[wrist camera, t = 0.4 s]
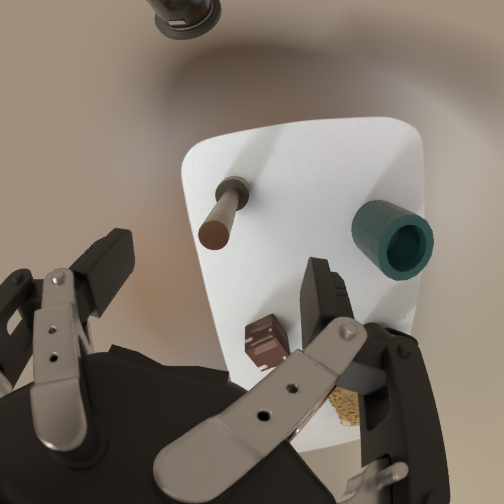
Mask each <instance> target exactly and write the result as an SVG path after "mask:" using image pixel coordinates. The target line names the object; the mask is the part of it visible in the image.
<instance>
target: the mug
mask: <svg viewBox="0 0 504 504" xmlns="http://www.w3.org/2000/svg"><path fill="white" fill-rule="evenodd" d="M364 328H365V329H366V332H367V336H368V337H370V338H373V339H376V340H379V341H382V342H385V343H388V341H389V340H390V339H391V338H392V337H393V336H392V335H395V336H397V335H401V336H405V337H408V338H410V339H411V340H413V341H414V342H415V343H416V344H417V345H418V342H417V340H416V339H415V338H414V337H412V336H410V335H408V334H405V333H403V332H400V331H398V330H395V329H392V328H382V327H380V326H379V325H378V324H376V323H368V324H365V325H364Z"/></svg>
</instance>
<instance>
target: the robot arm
mask: <svg viewBox="0 0 504 504" xmlns="http://www.w3.org/2000/svg"><path fill="white" fill-rule="evenodd" d="M146 1H147V2H148V3H149V5H150V6H151V7H152V8H153V10H154V11H155V12H156V14H157V15H158V16H159V18H160V19H161V21H162V23H163V24H164V25H165V26H166V27H167V28H169V29H171V30H174V31H187V30H191V29H194V28H197V27H199V26H200V25H202V24H203V23H205V22H206V21H207V20H208V19H209V18H210V16H211V14H212V12H213V3H212V0H146ZM134 265H135V256H134V247H133V239H132V233H131V231H130V230H127V229H119V228H115V229H113V230H112V231H111V232H110V233H109V234H108V235H107V236H106V237H103V238H101V239H99V240H97V241H96V242H94V243H93V244H92V245H91V246H90V247H89V249H87V250H86V251H85V253H84V254H82V255H81V256H80V257H79V258H78V259H77V260H76V261H75V262H74V263H73V264H72V265H71V267H69V268H68V269H67V268H59V269H56V270H53V271H51V272H50V273H48V274H47V275H46V277H45V278H44V279H33V277H32V274H31V272H30V270H28V269H19V270H16V271H14V272H13V273H11V274H10V275H9V276H8V277H7V278H6V279H5V281H4V282H3V283H2V284H1V285H0V504H449V502H450V486H449V475H448V467H447V460H446V453H445V447H444V442H443V436H442V431H441V426H440V421H439V417H438V412H437V408H436V404H435V399H434V396H433V392H432V388H431V384H430V381H429V377H428V374H427V371H426V367H425V364H424V361H423V358H422V354H421V351H420V349H419V347H418V345H417V344H416V343H415V342H414V341H413V340H411V339H410V338H408V337H405V336H401V335H397V336H393V337H392V338H391V339H390V340H389V341H388V343H385V342H382V341H379V340H376V339H373V338H370V337H368V336H367V332H366V329H365V328H364V326H363V325H362V324H361V323H359V322H358V321H356V320H355V319H354V315H353V311H352V308H351V304H350V300H349V297H348V293H347V290H346V286H345V283H344V280H343V279H342V278H341V276H340V275H339V274H338V273H337V272H330V268H329V264H328V260H327V259H321V258H314V257H310V258H309V260H308V264H307V268H306V271H305V275H304V279H303V282H302V286H301V291H300V312H301V329H302V348H303V351H301V350H300V349H297V350H295V351H294V352H292V353H291V354H290V355H289V356H288V357H287V358H286V359H285V360H284V361H283V362H281V363H280V364H279V365H278V366H277V367H276V368H275V369H274V370H272V371H271V372H270V373H269V374H268V375H267V376H266V377H264V378H263V379H262V380H261V381H260V382H259V383H257V384H256V385H255V386H254V387H253V388H251V389H250V390H249V391H247V390H245V389H244V388H242V387H241V386H239V385H237V384H235V383H233V382H231V381H228V379H229V372H228V371H222V370H216V369H210V368H205V367H200V366H164V365H162V364H160V363H158V362H156V361H154V360H152V359H150V358H148V357H146V356H145V355H143V354H141V353H139V352H137V351H133V350H129V349H126V348H122V347H120V346H116V345H113V344H112V346H111V348H110V349H109V351H108V352H99V353H95V352H94V347H93V342H92V337H91V331H90V325H89V321H88V317H89V316H90V315H91V316H94V317H98V318H100V317H101V316H102V314H103V313H104V311H105V310H106V308H107V307H108V305H109V304H110V302H111V301H112V299H113V298H114V297H115V295H116V294H117V292H118V291H119V289H120V288H121V286H122V285H123V284H124V282H125V281H126V280H127V278H128V277H129V275H130V274H131V273H132V271H133V269H134ZM17 309H18V311H19V313H20V315H21V317H22V320H21V321H20V323H19V324H18V325H17V327H16V328H15V330H14V331H13V333H12V334H11V335H9V334H8V331H7V323H8V320H9V319H10V317H11V316H12V315H13V314H14V312H15V311H16V310H17ZM32 354H33V372H34V381H33V382H31V383H29V384H27V385H25V386H23V387H21V388H19V389H17V390H15V391H13V392H12V390H13V388H14V386H15V384H16V383H17V381H18V379H19V377H20V375H21V373H22V371H23V370H24V368H25V366H26V364H27V363H28V361H29V359H30V358H31V356H32ZM337 386H338V387H341V388H344V389H347V390H350V391H353V392H356V393H358V404H359V418H360V435H361V463H362V466H361V467H362V468H361V469H360V470H358V471H356V472H355V473H354V474H353V475H352V476H351V477H350V479H349V480H348V483H347V487H346V491H345V494H344V495H343V497H342V498H341V499H340V500H339V501H337V502H336V501H335V498H334V497H333V495H332V493H331V492H330V491H329V490H328V489H327V487H326V486H325V485H324V484H323V483H322V482H321V481H320V479H319V478H318V477H317V476H316V475H315V473H314V472H313V471H312V470H311V469H310V468H309V466H308V465H307V464H306V463H305V461H304V460H303V459H302V458H301V457H300V455H299V454H298V453H297V452H296V450H295V449H294V448H293V447H292V445H291V444H290V442H291V441H292V440H293V439H294V438H295V437H296V435H297V434H298V433H299V432H300V431H301V430H302V429H303V428H304V426H305V425H306V424H307V423H308V422H309V420H310V419H311V418H312V417H313V416H314V414H315V413H316V412H317V411H318V410H319V409H320V407H321V406H322V405H323V404H324V402H325V401H326V400H327V399H328V398H329V396H330V395H331V394H332V393H333V391H334V390H335V389H336V387H337Z"/></svg>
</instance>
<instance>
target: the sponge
mask: <svg viewBox="0 0 504 504" xmlns="http://www.w3.org/2000/svg"><path fill="white" fill-rule="evenodd" d="M329 400H330V402H331V404H332V406H333V407H335V408H336V412H337V413H338V414H339V419H340V420H341V424H343V425H346V426H357V425H360V418H359V404H358V393H356V392H353V391H350V390H347V389H344V388H341V387H338V386H337V387H336V389H335V390H334V391H333V393H332V394H331V395H330V396H329Z"/></svg>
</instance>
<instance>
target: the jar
mask: <svg viewBox="0 0 504 504" xmlns="http://www.w3.org/2000/svg"><path fill="white" fill-rule="evenodd" d="M352 237H353V240H354V242H355V244H356V245H357V247H358V248H359V249H360V250H361V251H362V252H363V253H364V254H365V255H366V256H367V257H368V258H369V259H370V260H371V261H372V262H373V263H374V264H375V265H376V266H377V267H378V268H379V269H380V270H381V271H382V272H383V273H384V274H385V275H386V276H387V277H389V278H391V279H394V280H396V281H399V280H408V279H410V278H412V277H414V276H416V275H417V274H418V273H419V272H420V271H421V270H422V269H423V268H424V267H425V266H426V265H427V263H428V261H429V259H430V257H431V255H432V249H433V245H434V239H433V233H432V229H431V228H430V226H429V224H428V223H427V221H426V220H425V219H423V218H421V217H420V216H418V215H416V214H414V213H412V212H410V211H407V210H405V209H403V208H401V207H398V206H396V205H394V204H392V203H389V202H387V201H383V200H374V201H370V202H368V203H366V204H365V205H363V206H362V207H361V208H360V209H359V210H358V212H357V213H356V215H355V217H354V219H353V223H352Z"/></svg>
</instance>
